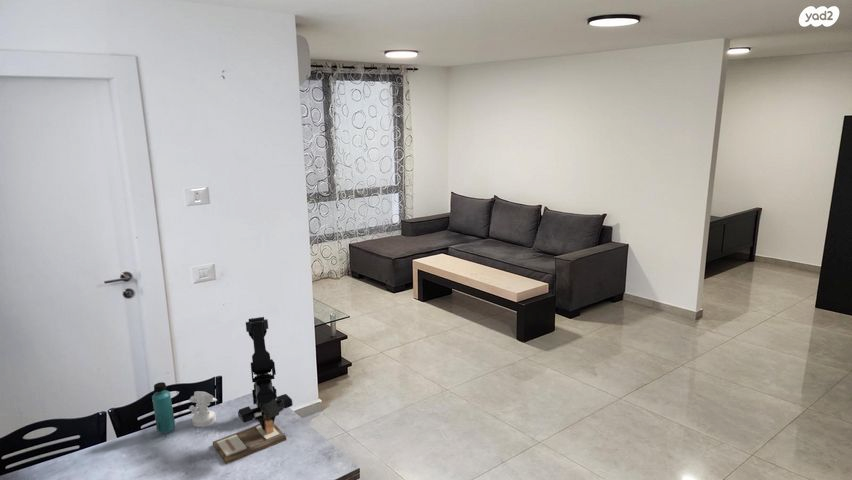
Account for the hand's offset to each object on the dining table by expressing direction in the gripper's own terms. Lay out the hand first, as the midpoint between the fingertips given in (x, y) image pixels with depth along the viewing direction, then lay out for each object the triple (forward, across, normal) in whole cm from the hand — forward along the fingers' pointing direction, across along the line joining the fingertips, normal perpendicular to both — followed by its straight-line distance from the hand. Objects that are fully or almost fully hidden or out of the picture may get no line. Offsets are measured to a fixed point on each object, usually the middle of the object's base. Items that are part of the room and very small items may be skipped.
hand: (267, 428), depth 198 cm
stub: (+1, 0, 0) cm, 1 cm away
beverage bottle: (+3, -29, +27) cm, 40 cm away
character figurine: (+3, -15, +26) cm, 30 cm away
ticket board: (+3, -8, 0) cm, 8 cm away
